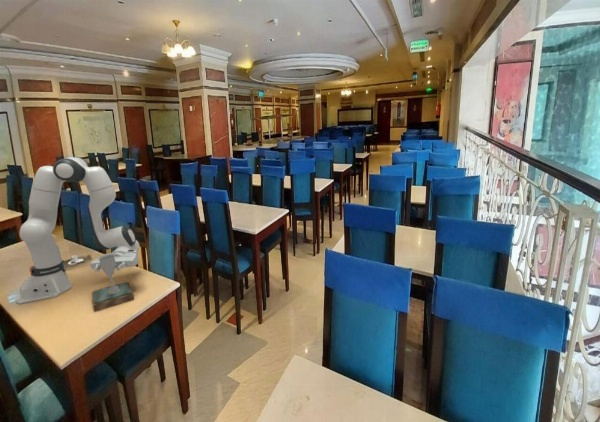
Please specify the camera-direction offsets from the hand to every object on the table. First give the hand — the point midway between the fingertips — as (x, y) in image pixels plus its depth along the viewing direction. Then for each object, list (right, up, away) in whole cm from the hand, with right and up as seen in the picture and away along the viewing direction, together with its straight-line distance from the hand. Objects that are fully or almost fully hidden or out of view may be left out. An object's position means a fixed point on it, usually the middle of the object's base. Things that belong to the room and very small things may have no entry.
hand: (107, 269), depth 148 cm
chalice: (+1, -11, +3) cm, 12 cm away
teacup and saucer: (-49, -6, +46) cm, 67 cm away
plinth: (+1, -15, +4) cm, 16 cm away
